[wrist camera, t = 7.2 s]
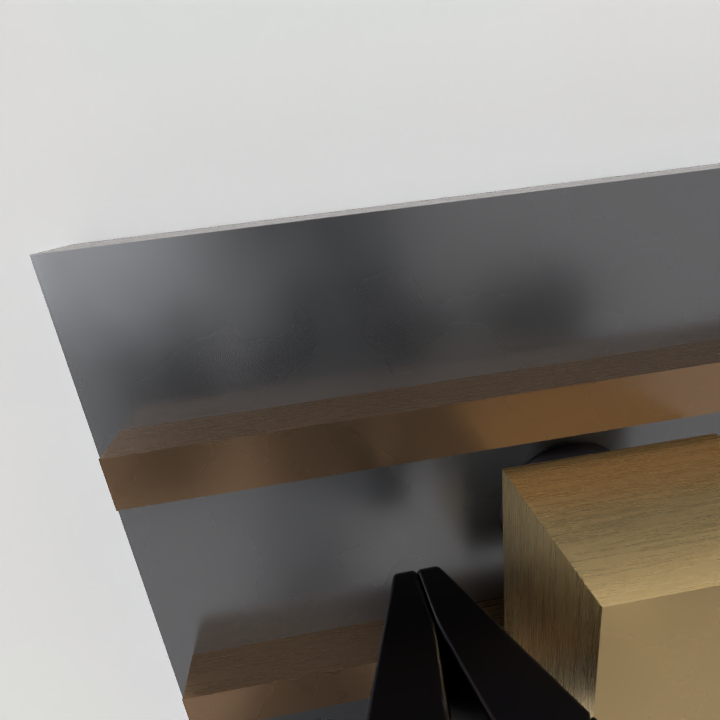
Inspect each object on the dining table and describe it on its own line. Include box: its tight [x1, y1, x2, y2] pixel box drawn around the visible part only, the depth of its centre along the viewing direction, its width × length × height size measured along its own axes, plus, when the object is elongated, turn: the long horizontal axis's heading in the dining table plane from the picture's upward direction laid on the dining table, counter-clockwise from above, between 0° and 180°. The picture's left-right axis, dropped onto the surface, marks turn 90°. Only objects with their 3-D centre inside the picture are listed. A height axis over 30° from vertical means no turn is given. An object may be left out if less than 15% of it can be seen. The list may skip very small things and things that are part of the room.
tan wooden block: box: [502, 433, 720, 720], centre depth 8 cm, size 4×4×4 cm
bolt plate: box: [30, 164, 720, 720], centre depth 11 cm, size 13×25×2 cm, turn 96°
